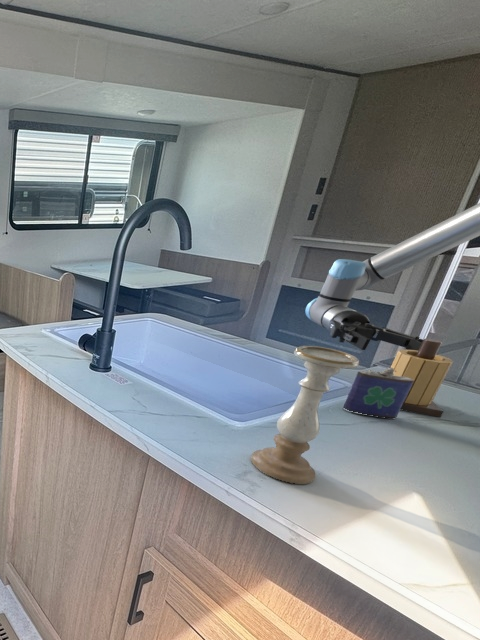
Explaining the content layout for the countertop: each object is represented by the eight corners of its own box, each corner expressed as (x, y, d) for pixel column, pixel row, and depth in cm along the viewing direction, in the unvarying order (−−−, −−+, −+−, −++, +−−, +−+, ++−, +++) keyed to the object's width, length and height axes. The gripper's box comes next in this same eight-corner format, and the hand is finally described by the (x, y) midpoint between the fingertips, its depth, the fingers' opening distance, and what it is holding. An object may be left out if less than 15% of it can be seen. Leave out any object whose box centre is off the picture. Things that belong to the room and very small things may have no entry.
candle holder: (318, 470, 71) (369, 355, 62) (307, 492, 65) (362, 369, 57) (258, 448, 76) (297, 340, 68) (243, 467, 71) (284, 351, 62)
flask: (392, 415, 91) (415, 369, 87) (399, 421, 89) (423, 374, 84) (340, 407, 94) (359, 361, 90) (345, 412, 92) (365, 366, 87)
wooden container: (422, 395, 98) (443, 354, 94) (436, 408, 92) (460, 365, 88) (375, 386, 102) (393, 347, 98) (386, 399, 95) (406, 357, 91)
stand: (422, 400, 99) (454, 339, 93) (440, 417, 91) (476, 351, 85) (368, 390, 104) (395, 331, 98) (380, 405, 96) (410, 342, 90)
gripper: (388, 342, 120) (447, 371, 102) (292, 328, 124) (332, 355, 105) (402, 316, 117) (466, 342, 98) (303, 303, 121) (347, 326, 102)
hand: (397, 349), depth 102 cm, fingers open, 13 cm apart
